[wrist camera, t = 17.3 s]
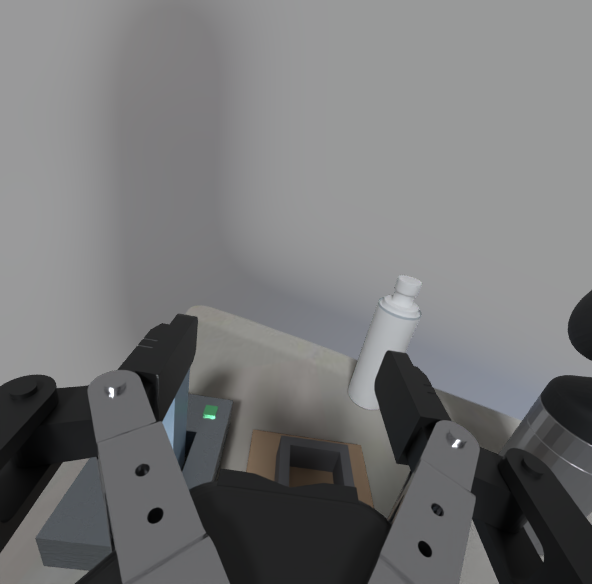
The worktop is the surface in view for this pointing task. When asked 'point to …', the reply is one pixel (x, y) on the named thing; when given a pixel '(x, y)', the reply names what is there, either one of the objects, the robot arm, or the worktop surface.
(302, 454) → the holster
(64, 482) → the worktop surface
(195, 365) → the worktop surface
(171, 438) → the plug
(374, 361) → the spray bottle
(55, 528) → the port block
